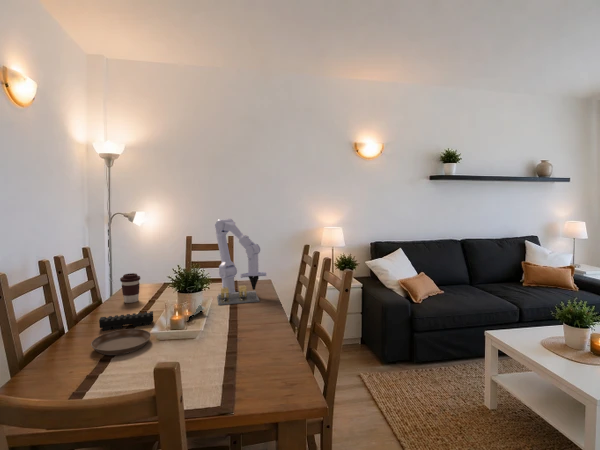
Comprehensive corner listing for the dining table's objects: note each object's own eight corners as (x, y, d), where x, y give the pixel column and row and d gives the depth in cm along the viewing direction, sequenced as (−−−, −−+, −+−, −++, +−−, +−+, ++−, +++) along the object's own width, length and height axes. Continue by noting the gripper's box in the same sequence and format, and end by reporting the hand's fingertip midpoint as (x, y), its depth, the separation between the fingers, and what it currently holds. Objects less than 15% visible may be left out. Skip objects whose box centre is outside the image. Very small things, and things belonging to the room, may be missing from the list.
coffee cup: (144, 298, 199) (143, 272, 198) (134, 304, 190) (133, 276, 188) (128, 298, 200) (126, 272, 199) (117, 303, 191) (116, 276, 189)
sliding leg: (238, 295, 201) (238, 285, 201) (245, 294, 202) (245, 285, 202) (240, 298, 194) (239, 289, 193) (247, 298, 195) (247, 288, 194)
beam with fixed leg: (218, 297, 198) (218, 287, 198) (255, 294, 204) (255, 285, 203) (218, 301, 191) (218, 291, 190) (257, 298, 196) (257, 288, 196)
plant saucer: (159, 335, 147) (158, 327, 147) (138, 358, 127) (137, 349, 126) (108, 336, 146) (108, 328, 146) (79, 359, 126) (79, 350, 126)
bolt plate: (217, 297, 200) (217, 296, 200) (255, 294, 206) (255, 293, 206) (218, 305, 187) (218, 303, 187) (259, 301, 193) (259, 299, 193)
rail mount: (153, 320, 165) (153, 310, 165) (153, 325, 159) (152, 314, 159) (101, 326, 157) (101, 316, 157) (99, 332, 151) (98, 320, 151)
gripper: (241, 267, 194) (241, 292, 195) (267, 266, 198) (267, 290, 199) (239, 265, 201) (240, 288, 202) (265, 264, 205) (265, 286, 206)
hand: (253, 289), depth 201 cm, fingers closed
